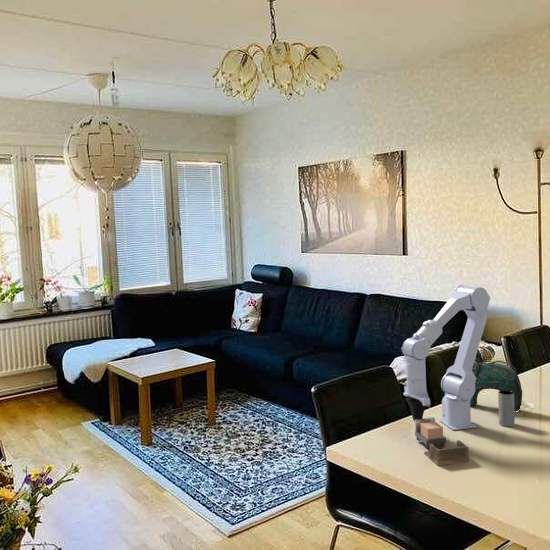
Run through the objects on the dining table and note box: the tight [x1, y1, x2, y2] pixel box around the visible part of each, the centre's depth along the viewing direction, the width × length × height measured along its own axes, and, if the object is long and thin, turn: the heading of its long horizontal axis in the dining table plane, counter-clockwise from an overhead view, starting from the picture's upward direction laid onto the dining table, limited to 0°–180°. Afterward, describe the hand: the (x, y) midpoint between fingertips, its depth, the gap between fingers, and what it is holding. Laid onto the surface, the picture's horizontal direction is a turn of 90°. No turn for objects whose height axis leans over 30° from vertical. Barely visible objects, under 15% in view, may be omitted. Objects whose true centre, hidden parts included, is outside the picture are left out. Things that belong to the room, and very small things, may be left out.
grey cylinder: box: [497, 390, 516, 428], centre depth 182 cm, size 4×4×10 cm
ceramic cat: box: [470, 349, 523, 411], centre depth 198 cm, size 20×6×20 cm, turn 56°
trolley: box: [414, 417, 447, 449], centre depth 170 cm, size 8×6×6 cm
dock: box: [423, 439, 470, 467], centre depth 160 cm, size 8×9×4 cm
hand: (417, 421), depth 179 cm, fingers closed
